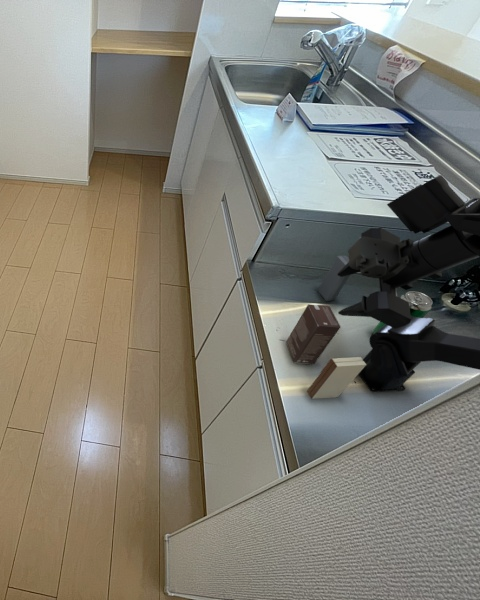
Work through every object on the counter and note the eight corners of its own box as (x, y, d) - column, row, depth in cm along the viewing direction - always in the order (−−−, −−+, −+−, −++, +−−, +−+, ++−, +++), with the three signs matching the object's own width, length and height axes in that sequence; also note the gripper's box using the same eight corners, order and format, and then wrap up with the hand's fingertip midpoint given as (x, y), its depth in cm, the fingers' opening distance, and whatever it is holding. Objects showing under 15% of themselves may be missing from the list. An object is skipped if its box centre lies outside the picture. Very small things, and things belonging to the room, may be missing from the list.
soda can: (374, 343, 76) (407, 305, 67) (369, 326, 79) (399, 288, 71) (402, 348, 74) (439, 309, 66) (395, 330, 78) (429, 292, 69)
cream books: (337, 397, 67) (366, 364, 60) (311, 398, 67) (336, 366, 60) (332, 389, 68) (360, 356, 61) (306, 391, 69) (331, 358, 61)
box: (315, 364, 73) (342, 327, 64) (292, 363, 73) (316, 326, 65) (306, 342, 77) (330, 304, 69) (284, 341, 78) (305, 303, 69)
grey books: (334, 300, 85) (356, 266, 78) (325, 301, 85) (346, 266, 78) (325, 289, 88) (345, 255, 80) (317, 290, 88) (337, 256, 81)
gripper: (385, 191, 57) (305, 241, 71) (396, 281, 49) (303, 318, 63) (439, 219, 58) (350, 263, 72) (459, 312, 50) (354, 342, 64)
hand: (339, 293), depth 68 cm, fingers open, 9 cm apart
